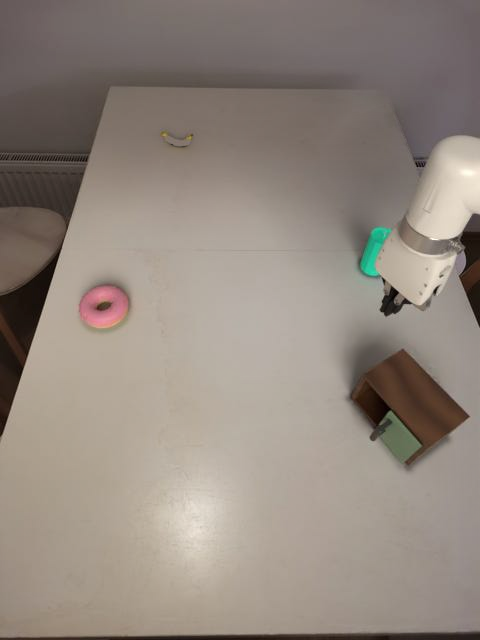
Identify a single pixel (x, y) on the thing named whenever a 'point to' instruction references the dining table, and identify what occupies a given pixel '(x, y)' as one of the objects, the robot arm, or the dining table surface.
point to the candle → (373, 250)
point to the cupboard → (408, 401)
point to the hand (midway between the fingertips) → (388, 310)
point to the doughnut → (108, 315)
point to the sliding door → (396, 437)
